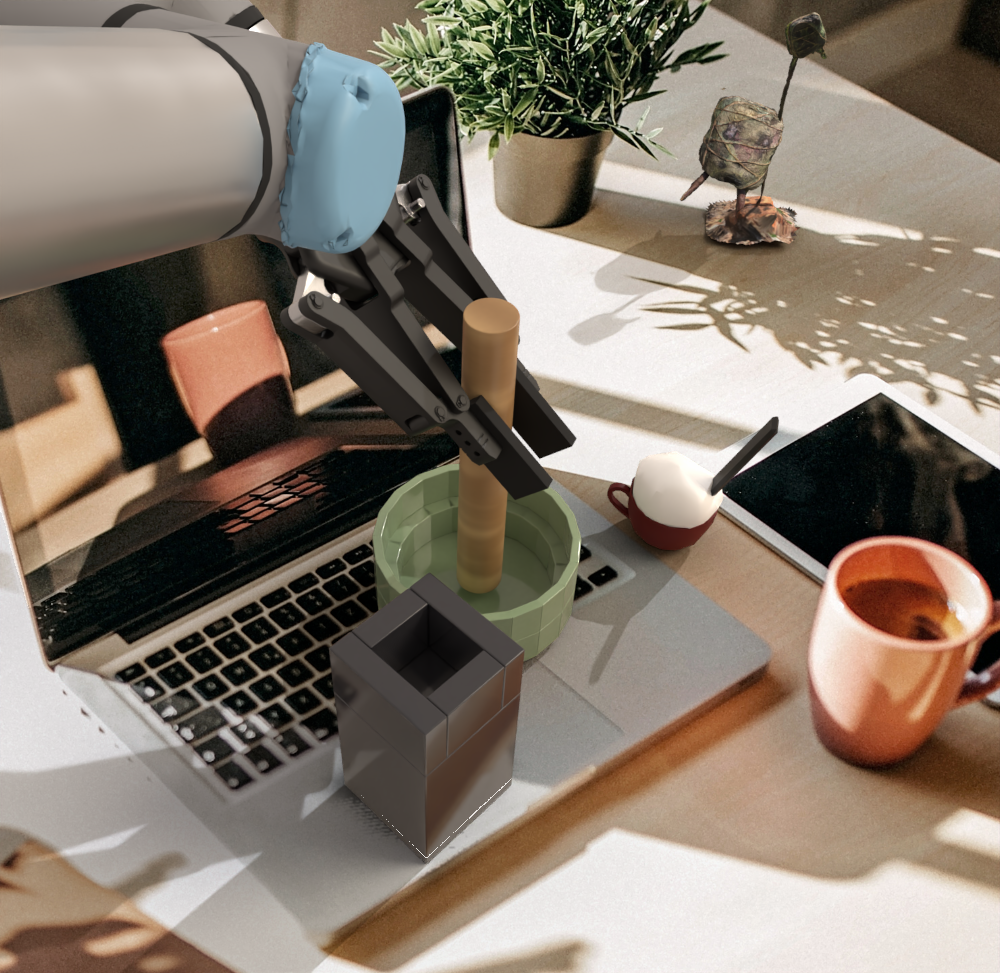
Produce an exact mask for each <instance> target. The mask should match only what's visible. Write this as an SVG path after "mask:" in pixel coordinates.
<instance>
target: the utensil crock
mask: <svg viewBox="0 0 1000 973" xmlns="http://www.w3.org/2000/svg"><path fill="white" fill-rule="evenodd" d="M328 651H329V653H328V654H329V663H330V670H331V678H332V679H331V680H332V687H333V688H332V689H333V695H334V697H333V698H334V706H335V713H336V721H337V730H338V739H339V748H340V756H341V764H342V772H343V773H342V774H343V781H344V786H346V788H348V789H349V791H351V792H352V793H353V794H354V795H355V796H356V797H357V798H358V799H359V800H360V801H361V802H362V803H363V804H364V805H365V806H366V807H367V808H368V809H369V810H370V811H371V812H372V813H373V814H374V815H375V816H376V817H377V818H378V819H379V820H380V821H381V822H382V823H383V824H385V826H386V827H388V828H389V830H390V831H391V832H393V833H394V834H395V836H397V837H398V839H400V840H401V841H402V843H404V845H406V846H407V847H408V848H409V849H410V850H411V851H412V852H413V853H414V854H415V855H416V856H417V857H418V858H419V859H420V860H421V861H422V862H423V863H424V864H425V865H427V864H428V863H430V862H431V861H432V860H433V859H434V858H435V857H436V856H437V855H438V854H439V853H440V852H442V851H443V849H445V848H446V847H447V846H448V845H449V844H450V843H451V842H452V841H453V840H454V839H455V838H456V837H458V835H459V834H461V833H462V832H463V831H464V830H465V829H466V828H467V827H468V826H469V825H470V824H471V823H472V822H474V821H475V820H476V819H477V818H478V817H479V816H480V815H481V814H482V813H483V812H484V811H485V810H487V808H489V806H491V805H492V804H493V802H495V801H496V800H497V799H498V798H499V797H500V796H501V795H502V794H503V793H505V791H507V789H509V788H510V787H511V786H512V782H513V771H514V764H515V754H516V753H515V752H516V743H517V732H518V723H519V722H518V721H519V715H520V714H519V713H520V702H521V693H522V692H521V691H522V682H523V672H524V663H525V661H524V654H525V650H524V648H522V647H521V646H520V645H519V644H517V643H516V642H515V641H514V640H512V639H511V638H510V637H509V636H507V635H506V634H505V633H504V632H503V631H501V630H500V629H499V628H498V627H496V626H495V625H494V624H493V623H491V622H490V621H489V620H488V619H487V618H485V617H484V616H483V615H482V614H480V613H479V612H478V611H477V610H475V609H474V608H473V607H472V606H471V605H469V604H468V603H467V602H466V601H464V600H463V599H462V598H461V597H459V596H458V595H457V594H456V593H454V592H453V591H452V590H451V589H450V588H448V587H447V586H446V585H445V584H443V583H442V582H441V581H440V580H438V579H437V578H436V577H435V576H434V575H432V574H431V573H428V574H426V575H425V576H424V577H422V578H421V579H420V580H418V581H417V582H416V583H414V584H413V585H412V586H410V588H408V589H406V590H405V591H404V592H402V593H401V594H400V595H399V596H397V597H396V598H395V599H393V600H392V601H391V602H389V603H388V604H387V605H385V606H384V607H383V608H381V609H380V610H379V611H378V610H377V611H376V612H375V613H373V614H372V615H371V616H369V617H368V618H367V619H365V620H364V621H363V622H362V623H360V624H359V625H357V626H356V627H355V628H353V629H352V630H351V631H350V632H348V633H346V634H345V635H344V636H342V637H341V638H340V639H338V641H336V642H335V643H333V644H332V645H331V646H330V647H328ZM511 778H512V779H511ZM510 779H511V780H510ZM509 780H510V781H509ZM508 781H509V782H508ZM507 782H508V783H507ZM505 783H507V784H506V785H505ZM504 785H505V786H504ZM502 786H504V787H503V788H502V789H501V787H502ZM499 789H501V790H500V791H498V790H499ZM497 791H498V792H497ZM496 792H497V793H496ZM495 793H496V794H495ZM494 794H495V795H494ZM361 795H362V796H361ZM493 795H494V796H493ZM492 796H493V797H492ZM363 797H364V798H363ZM490 797H492V798H491V799H490ZM488 799H490V800H489V801H488ZM487 801H488V802H487ZM485 802H487V803H486V804H485V805H483V804H484V803H485ZM482 805H483V806H482ZM480 806H482V807H481V808H480V809H479V807H480ZM478 809H479V810H478ZM476 810H478V811H477V812H476V813H475V814H474V815H473V816H472V817H471V818H470V819H469V817H470V816H471V815H472V814H473V813H474V812H475V811H476ZM382 815H383V816H382ZM386 819H387V820H386ZM467 819H468V820H467ZM466 820H467V821H466ZM388 821H389V822H388ZM465 821H466V822H465ZM464 822H465V823H464ZM463 823H464V824H463ZM462 824H463V825H462ZM392 825H393V826H394V827H393V826H392ZM461 825H462V826H461ZM460 826H461V827H460ZM459 827H460V828H459ZM458 828H459V829H458ZM396 829H397V830H398V831H399V832H400V833H401V834H402V835H403V836H402V835H401V834H400V833H399V832H398V831H397V830H396ZM457 829H458V830H457ZM456 830H457V831H456ZM455 831H456V832H455ZM453 832H454V833H453ZM449 836H450V837H449ZM448 837H449V838H448ZM447 838H448V839H447ZM446 839H447V840H446ZM445 840H446V841H445ZM409 841H410V842H409ZM444 841H445V842H444ZM442 842H444V843H443V844H442ZM412 844H413V845H414V846H413V845H412ZM441 844H442V845H441ZM440 845H441V846H440ZM437 847H438V848H437ZM416 848H417V849H418V850H419V851H420V852H421V853H422V854H423V855H424V856H425V857H428V856H429V854H431V853H432V852H433V851H434V850H435V849H436V848H437V849H436V850H435V851H434V852H433V853H432V854H431V855H430V856H429V857H428V858H425V857H424V856H423V855H422V854H421V853H420V852H419V851H418V850H417V849H416Z"/></svg>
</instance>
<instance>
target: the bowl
mask: <svg viewBox="0 0 1000 973" xmlns="http://www.w3.org/2000/svg"><path fill="white" fill-rule="evenodd" d="M458 493H459V463H452V464H451V463H450V464H446V465H442V466H439V467H436V468H434V469H431V470H428V471H425V472H422V473H419V474H417V475H415V476H414V477H413V478H411V479H409V480H408V481H407V482H405V484H403V485H400V487H398V488H397V489H396V490H394V491H393V493H392V494H391V495H390V497H389V498H388V499H387V501H385V503H384V505H383V506H382V507H381V508H380V510H379V512H378V514H377V516H376V517H377V518H376V521H375V524H374V528H373V532H372V537H371V539H372V554H373V556H372V557H373V571H374V572H373V573H374V588H375V596H376V603H377V611H379V610H380V609H381V608H383V607H384V606H385V605H387V604H388V603H389V602H391V601H392V600H393V599H395V598H396V597H397V596H399V595H400V594H401V593H402V592H404V591H405V590H406V589H408V588H410V586H412V585H413V584H414V583H416V582H417V581H418V580H420V579H421V578H422V577H424V576H425V575H426V574H428V573H431V574H432V575H434V576H435V577H436V578H437V579H438V580H440V581H441V582H442V583H443V584H445V585H446V586H447V587H448V588H450V589H451V590H452V591H453V592H454V593H456V594H457V595H458V596H459V597H461V598H462V599H463V600H464V601H466V602H467V603H468V604H469V605H471V606H472V607H473V608H474V609H475V610H477V611H478V612H479V613H480V614H482V615H483V616H484V617H485V618H487V619H488V620H489V621H490V622H491V623H493V624H494V625H495V626H496V627H498V628H499V629H500V630H501V631H503V632H504V633H505V634H506V635H507V636H509V637H510V638H511V639H512V640H514V641H515V642H516V643H517V644H519V645H520V646H521V647H522V648H524V650H525V654H524V662H526V661H528V660H531V659H533V658H535V657H537V656H538V655H540V653H542V652H543V651H544V650H546V649H547V648H548V647H549V646H550V645H551V644H552V643H554V642H555V641H556V640H557V639H558V638H559V637H560V636H561V634H562V632H563V630H564V628H565V627H566V625H567V623H568V621H569V619H570V617H571V615H572V613H573V605H574V599H575V591H576V584H577V578H578V573H579V572H578V571H579V565H580V558H581V548H582V547H581V546H582V535H581V532H580V529H579V526H578V522H577V518H576V515H575V513H574V512H573V510H572V509H571V508H570V506H569V505H568V504H567V503H566V501H565V500H564V498H563V497H562V496H561V494H559V492H557V491H556V490H555V489H553V488H552V487H550V486H549V488H548V489H545V490H542V491H539V492H537V493H534V494H531V495H528V496H525V497H523V498H520V499H517V500H514V499H513V497H512V496H511V495H510V494H509V493H507V507H506V521H505V535H504V549H503V563H502V577H501V581H500V583H499V585H498V586H497V587H496V588H495V589H494V590H492V591H490V592H487V593H481V594H478V593H472V592H469V591H467V590H465V589H464V588H463V587H461V585H460V584H459V583H458V581H457V576H456V572H457V533H458Z"/></svg>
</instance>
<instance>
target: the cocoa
mask: <svg viewBox="0 0 1000 973" xmlns="http://www.w3.org/2000/svg"><path fill="white" fill-rule="evenodd" d="M779 426H780V418H779V416H772V417H771V418H770V419H769V420H768V421H767V422H766V423H765V424H764V425H763V426H762V427H761V428H760V429H759V430H758V431H757V432H756V433H755V435H753V436H752V437H751V439H749V441H747V443H746V444H745V445H744V446H743V447H741V449H740V450H739V451H738V452H737V453H736V454H735V455H734V456H733V457H732V458H731V459H730V460H729V461H728V462H727V463H726V464H725V465H724V466H723V467H722V468H721V469H720V470H718V472H717V473H716V474H714V473H713V472H711V471H709V470H708V469H706V468H704V467H702V466H701V465H699V464H698V463H697V462H695V461H693V460H691V459H690V458H689V457H687V456H685V455H684V454H682V453H680V452H678V451H677V450H674V451H666V452H661V453H655V454H649V455H648V456H646V457H644V458H642V459H639V462H638V465H637V468H636V472H635V476H634V477H633V478H632V480H631V483H630V486H629V485H628V484H625V483H623V482H612V483H611V484H609V487H608V489H607V492H606V496H607V499H608V501H609V503H610V504H611V505H612V506H613V507H614V509H615V510H617V511H618V512H619V513H620V514H622V515H623V516H624V517H625V518H627V519H629V522H630V524H631V526H632V529H633V531H634V532H635V534H636V535H637V536H638V537H640V538H641V540H643V541H644V542H645V543H646V544H647V545H650V546H652V547H654V548H657V549H659V550H664V551H679V550H683V549H686V548H689V547H691V546H694V545H695V544H697V542H698V541H699V540H700V539H701V538H702V537H703V535H705V533H706V532H707V531H708V530H709V529H710V527H712V525H713V523H714V521H715V519H716V517H717V515H718V511H719V508H720V506H721V504H722V502H723V501H724V494H723V488H725V487H726V485H728V483H729V482H730V481H731V480H732V479H734V478H735V476H737V475H738V474H739V472H741V471H742V469H744V468H745V467H746V465H747V464H749V462H750V461H751V460H752V459H753V458H754V457H756V456H757V454H758V453H759V452H761V450H762V449H763V448H765V446H766V445H767V444H768V443H769V442H770V441H772V439H773V438H775V437H776V436H777V434H778V433H779ZM617 491H618V492H622V493H624V494H625V495H626V496H627V497H628V499H627V506H625V505H624V504H623V503H622V502H621V501H620V500H619V499H618V498H617V497H616V496H615V494H614V492H617Z"/></svg>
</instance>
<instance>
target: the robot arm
mask: <svg viewBox="0 0 1000 973" xmlns="http://www.w3.org/2000/svg"><path fill="white" fill-rule="evenodd" d="M405 141H406V117H405V111H404V105H403V100H402V98H401V94H400V91H399V89H398V87H397V84H396V83H395V82H394V80H393V79H392V78H391V76H390V75H389V74H388V73H387V72H386V71H385V70H384V69H383V68H382V67H380V66H379V65H377V64H375V63H372V62H370V61H368V60H363V59H361V58H358V57H355V56H351V55H348V54H345V53H341V52H338V51H335V50H332V49H329V48H327V46H326V45H325V44H324V43H321V42H317V41H313V42H312V43H305V42H302V41H297V40H294V39H293V40H292V39H290V38H289V39H288V38H284V37H282V35H281V34H280V33H279V32H278V30H277V29H276V28H275V26H273V25H272V22H270V21H269V20H268V19H267V18H265V16H264V15H263V14H262V12H261V11H260V10H259V8H258V7H257V6H256V5H255V4H253V3H252V2H251V1H250V0H0V300H3V299H8V298H11V297H15V296H18V295H23V294H25V293H29V292H33V291H37V290H39V289H43V288H48V287H51V286H55V285H58V284H62V283H65V282H69V281H72V280H76V279H79V278H83V277H87V276H90V275H94V274H97V273H102V272H106V271H109V270H112V269H116V268H119V267H123V266H128V265H130V264H134V263H138V262H141V261H146V260H149V259H152V258H156V257H160V256H163V255H168V254H170V253H174V252H178V251H181V250H185V249H188V248H192V247H196V246H201V245H205V244H210V243H214V242H219V241H225V240H229V239H233V238H236V237H240V236H243V235H244V236H245V235H254V236H255V237H256V238H257V239H258V240H259V241H261V242H262V243H265V244H267V243H269V244H272V245H274V246H276V247H277V248H278V249H279V250H280V251H281V253H282V255H283V257H284V258H285V260H286V263H287V265H288V268H289V272H290V273H291V275H292V276H293V277H294V279H295V280H297V281H296V286H295V289H294V293H293V294H294V295H293V299H292V303H291V304H289V305H288V306H286V307H285V308H284V309H282V310H281V312H280V314H279V319H280V322H281V325H282V326H283V327H284V328H286V329H287V330H288V331H289V332H292V333H294V334H295V335H298V336H300V337H301V338H303V339H305V340H306V341H308V342H311V343H313V344H315V346H317V347H318V348H319V350H321V351H322V352H323V354H325V355H326V356H327V357H328V359H330V360H331V362H333V363H334V364H335V365H336V366H337V367H338V368H339V369H340V370H341V371H342V372H343V373H344V374H345V375H346V376H347V377H348V378H349V379H350V380H351V381H352V382H354V384H356V386H357V387H358V388H359V389H360V390H362V392H364V393H365V395H367V396H368V397H369V399H371V400H372V401H373V402H374V403H375V404H376V405H377V406H378V407H379V408H380V409H381V410H382V411H383V412H384V413H385V414H386V415H387V416H388V417H389V418H390V419H391V420H392V421H393V422H394V423H395V424H396V425H397V426H398V427H399V428H400V429H401V430H402V431H403V432H405V434H407V435H408V436H410V437H416V436H419V435H420V434H423V433H426V432H428V431H430V430H432V429H434V428H441V429H442V430H444V432H446V434H447V435H448V436H449V437H450V438H451V439H452V440H453V441H454V443H455V444H456V445H457V446H458V448H459V449H460V448H461V449H462V451H463V452H464V453H465V454H466V455H467V456H468V457H469V459H470V460H471V461H472V462H473V463H475V464H477V465H479V466H480V465H483V464H484V465H485V466H486V467H487V469H488V470H489V471H490V472H491V473H492V474H493V475H494V477H495V478H496V479H497V480H498V481H499V482H500V484H501V485H502V486H503V487H504V488H505V489H506V490H507V492H508V493H509V494H510V495H511V496H512V497H513V499H514V500H517V499H520V498H523V497H525V496H528V495H531V494H534V493H537V492H539V491H542V490H545V489H548V488H549V487H550V486H551V485H552V483H553V481H554V479H553V478H552V477H551V475H549V473H548V472H547V471H546V469H545V468H544V467H543V466H542V465H541V463H540V462H539V461H538V460H537V459H536V458H535V456H534V455H533V454H532V453H531V452H530V450H529V449H528V448H527V447H526V446H525V444H526V445H527V446H528V447H529V448H530V449H531V451H532V452H533V453H534V454H535V455H536V457H537V458H538V459H539V460H540V459H543V458H545V457H548V456H550V455H554V454H557V453H559V452H562V451H564V450H566V449H569V448H572V447H573V446H574V445H575V442H576V441H577V439H578V438H577V436H576V435H575V434H574V433H573V431H572V430H571V429H570V428H569V427H568V426H567V424H566V423H565V422H564V421H563V419H562V418H561V416H559V414H558V413H557V412H556V410H554V408H553V407H552V406H551V405H550V403H549V402H548V401H547V400H546V398H544V396H543V395H542V393H540V390H541V387H540V386H539V384H538V382H537V381H538V380H536V379H535V377H534V376H533V375H532V374H531V373H530V371H529V369H528V368H526V366H525V365H524V363H523V362H522V361H521V360H520V359H519V357H517V367H516V381H515V395H514V409H513V423H512V430H511V429H510V428H509V427H508V426H507V424H506V423H505V422H504V421H503V420H502V418H501V417H500V416H499V415H498V414H497V412H496V411H495V410H494V409H493V408H492V407H491V405H490V404H489V403H488V402H487V401H486V399H485V398H484V397H483V396H482V395H480V396H478V397H475V398H473V399H471V400H469V397H468V395H467V394H466V392H465V391H464V389H463V388H462V387H461V384H460V382H459V381H458V379H457V377H456V376H455V375H454V373H453V372H452V370H451V368H450V367H449V365H448V364H447V362H446V361H445V360H444V359H443V357H442V355H441V354H440V352H439V350H438V349H437V348H436V346H435V344H433V342H432V340H431V339H430V338H429V336H428V334H427V333H426V331H425V330H424V329H423V327H422V326H421V325H420V323H419V321H418V320H417V318H416V316H414V314H413V313H412V311H411V309H410V308H409V307H408V305H407V303H406V302H405V300H406V301H407V302H408V303H409V304H410V305H411V306H413V308H414V309H416V310H417V312H419V313H420V314H421V315H422V316H423V317H424V318H425V319H426V320H427V321H428V322H429V323H430V324H431V325H432V326H433V327H435V329H436V330H438V331H439V333H441V334H442V335H443V336H444V337H445V338H446V339H447V340H448V341H449V342H450V343H451V344H452V345H453V346H454V347H455V348H456V349H457V350H458V351H459V352H461V353H462V336H463V312H464V310H465V308H466V307H467V306H468V305H469V304H470V303H471V302H473V301H476V300H478V299H482V298H498V299H502V300H505V301H508V300H507V298H506V297H505V295H504V294H503V292H502V291H501V290H500V288H499V287H498V285H497V284H496V282H495V281H494V280H493V278H492V277H491V276H490V274H489V272H488V271H487V270H486V269H485V267H484V265H483V264H482V263H481V262H480V260H479V258H478V257H477V256H476V254H475V253H474V251H473V250H472V248H471V247H470V246H469V244H468V243H467V242H466V240H465V239H464V237H463V236H462V235H461V233H460V232H459V231H458V229H457V228H456V226H455V225H454V223H453V222H452V220H451V219H450V217H449V216H448V215H447V213H446V212H445V210H444V208H443V206H442V204H441V201H440V199H439V197H438V194H437V191H436V189H435V187H434V185H433V182H432V181H431V179H430V178H429V176H427V175H426V174H424V173H419V174H417V175H416V176H414V177H412V179H410V180H409V181H408V182H406V183H399V180H400V174H401V169H402V164H403V159H404V151H405ZM377 294H378V295H377ZM404 299H405V300H404ZM520 343H521V337H520V335H519V339H518V346H519V345H520ZM440 397H441V398H440ZM513 429H514V431H515V432H516V433H517V435H518V436H520V438H521V439H522V440H523V441H524V442H525V444H523V442H522V441H521V440H520V438H519V437H518V436H517V435H516V434H515V433H514V432H513Z"/></svg>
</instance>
